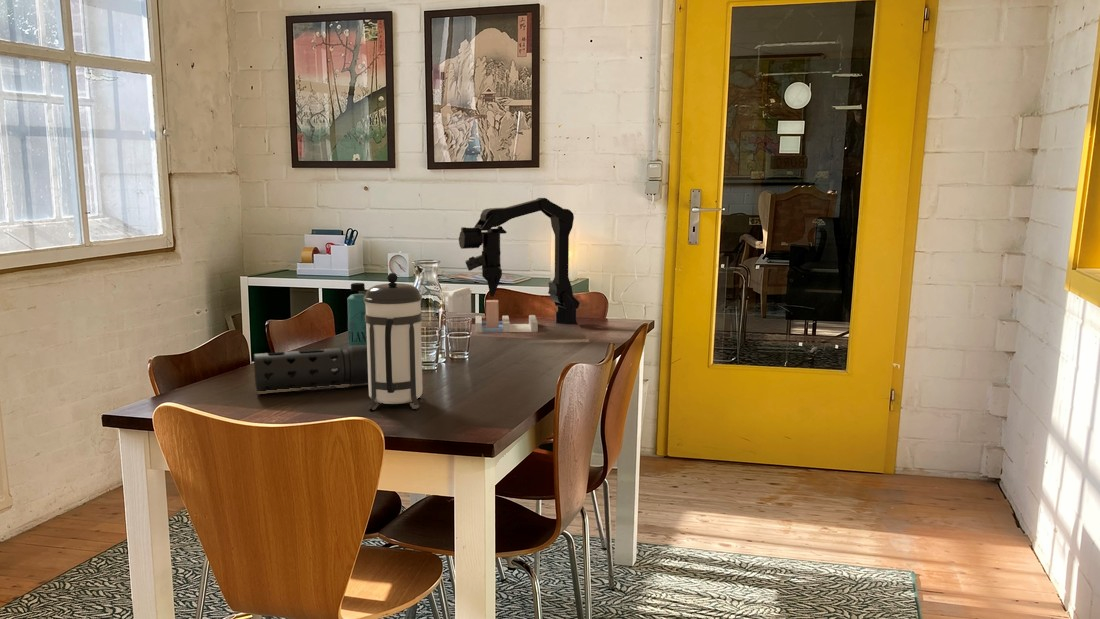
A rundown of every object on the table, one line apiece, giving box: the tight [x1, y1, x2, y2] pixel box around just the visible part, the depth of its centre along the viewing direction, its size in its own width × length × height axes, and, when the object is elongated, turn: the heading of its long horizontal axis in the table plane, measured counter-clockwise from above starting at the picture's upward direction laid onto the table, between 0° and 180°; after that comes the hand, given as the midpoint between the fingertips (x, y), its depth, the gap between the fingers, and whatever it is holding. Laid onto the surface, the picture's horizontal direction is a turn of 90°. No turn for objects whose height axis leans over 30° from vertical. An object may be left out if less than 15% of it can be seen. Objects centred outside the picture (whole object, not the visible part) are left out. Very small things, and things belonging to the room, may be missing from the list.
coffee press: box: [364, 272, 424, 406], centre depth 191 cm, size 17×16×30 cm
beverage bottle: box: [346, 282, 367, 347], centre depth 252 cm, size 6×7×20 cm
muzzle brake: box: [253, 345, 368, 391], centre depth 207 cm, size 10×28×10 cm, turn 111°
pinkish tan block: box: [485, 299, 500, 329], centre depth 282 cm, size 4×4×9 cm
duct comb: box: [475, 314, 539, 334], centre depth 283 cm, size 20×14×4 cm
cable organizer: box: [440, 285, 472, 314], centre depth 301 cm, size 15×11×12 cm
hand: (491, 295), depth 281 cm, fingers open, 5 cm apart
